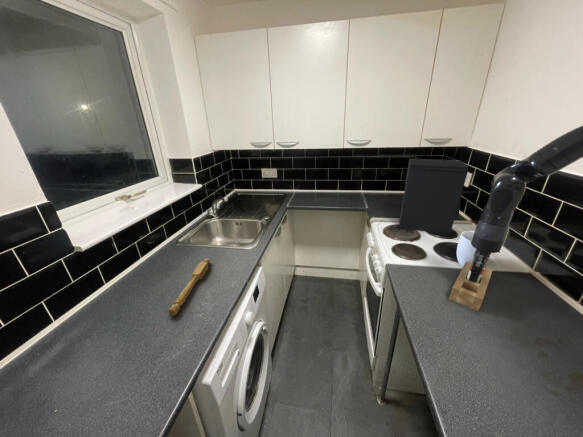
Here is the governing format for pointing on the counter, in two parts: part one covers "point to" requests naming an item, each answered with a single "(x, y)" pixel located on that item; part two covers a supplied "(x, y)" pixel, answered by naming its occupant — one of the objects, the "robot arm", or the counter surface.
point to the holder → (470, 288)
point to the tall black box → (432, 195)
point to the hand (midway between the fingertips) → (473, 277)
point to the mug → (465, 248)
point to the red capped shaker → (478, 277)
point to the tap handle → (189, 286)
